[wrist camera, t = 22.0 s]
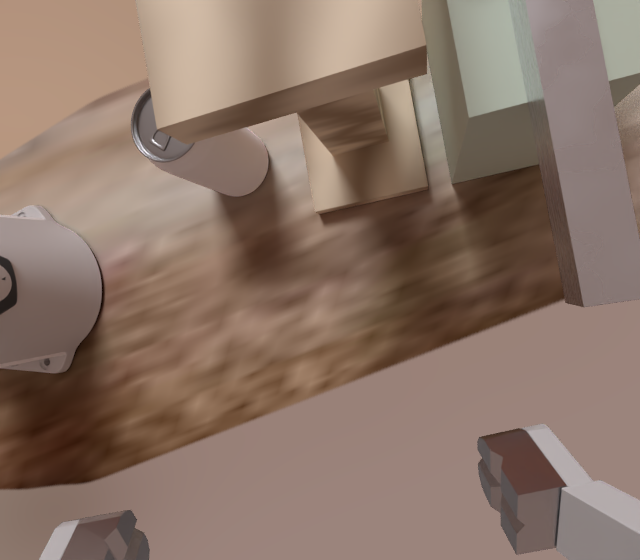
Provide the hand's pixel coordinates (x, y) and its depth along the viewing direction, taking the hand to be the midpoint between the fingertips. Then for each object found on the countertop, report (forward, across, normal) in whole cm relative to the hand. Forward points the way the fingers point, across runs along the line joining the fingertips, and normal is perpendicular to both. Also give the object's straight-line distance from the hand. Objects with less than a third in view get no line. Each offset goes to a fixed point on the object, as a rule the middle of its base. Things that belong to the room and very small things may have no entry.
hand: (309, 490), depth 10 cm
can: (+36, +4, -3) cm, 36 cm away
